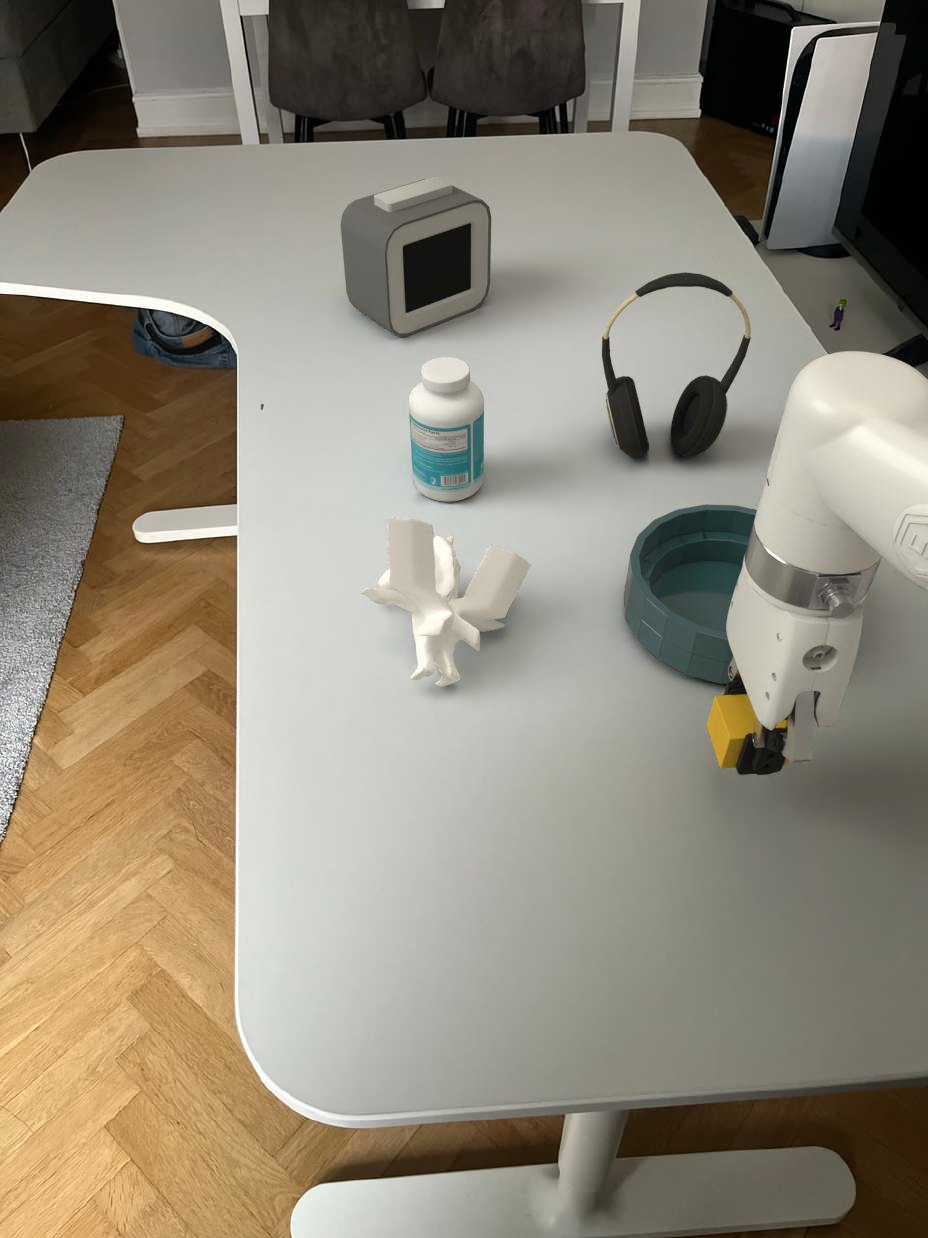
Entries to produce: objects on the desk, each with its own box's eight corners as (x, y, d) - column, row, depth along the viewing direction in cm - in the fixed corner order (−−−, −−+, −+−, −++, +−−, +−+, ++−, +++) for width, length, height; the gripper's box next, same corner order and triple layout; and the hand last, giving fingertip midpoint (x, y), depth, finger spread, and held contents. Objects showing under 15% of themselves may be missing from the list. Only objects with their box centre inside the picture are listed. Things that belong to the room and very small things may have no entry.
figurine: (460, 717, 91) (457, 579, 97) (541, 679, 82) (532, 531, 88) (314, 686, 83) (320, 538, 88) (388, 641, 74) (389, 480, 80)
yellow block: (705, 725, 74) (714, 695, 71) (771, 721, 74) (782, 691, 72) (720, 769, 71) (729, 739, 69) (788, 764, 71) (800, 734, 69)
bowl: (854, 607, 90) (873, 557, 86) (765, 724, 81) (781, 674, 77) (684, 530, 98) (694, 481, 94) (585, 628, 89) (591, 578, 84)
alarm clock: (390, 343, 125) (382, 219, 114) (339, 309, 131) (328, 189, 120) (489, 304, 132) (491, 184, 121) (437, 274, 138) (435, 157, 127)
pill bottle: (449, 453, 108) (447, 340, 98) (498, 483, 104) (501, 368, 94) (397, 483, 104) (390, 368, 94) (446, 514, 100) (444, 398, 91)
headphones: (733, 472, 105) (774, 295, 91) (594, 473, 105) (613, 296, 91) (718, 427, 111) (755, 253, 97) (586, 427, 111) (604, 254, 97)
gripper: (928, 654, 54) (837, 839, 67) (824, 470, 66) (764, 657, 79) (793, 662, 54) (728, 846, 67) (713, 475, 65) (671, 663, 78)
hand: (748, 742), depth 72 cm, fingers closed on yellow block, 4 cm apart
